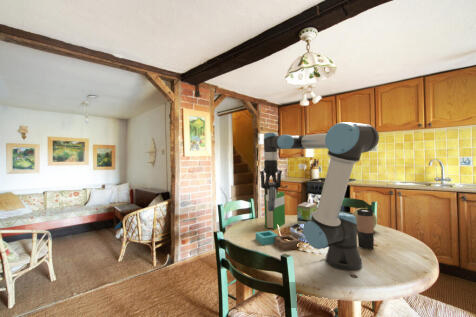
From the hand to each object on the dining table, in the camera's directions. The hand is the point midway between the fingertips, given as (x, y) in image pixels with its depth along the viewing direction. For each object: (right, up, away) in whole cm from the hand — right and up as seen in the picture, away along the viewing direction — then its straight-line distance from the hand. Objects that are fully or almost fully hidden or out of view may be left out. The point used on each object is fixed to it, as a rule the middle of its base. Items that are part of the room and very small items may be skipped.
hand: (271, 199), depth 129 cm
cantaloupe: (+65, -24, +19) cm, 72 cm away
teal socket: (-2, -26, +2) cm, 26 cm away
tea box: (+33, -25, +37) cm, 55 cm away
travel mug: (+51, -24, -8) cm, 57 cm away
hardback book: (+8, -26, +34) cm, 43 cm away
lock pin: (0, -6, 0) cm, 6 cm away
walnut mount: (+8, -25, -6) cm, 27 cm away
